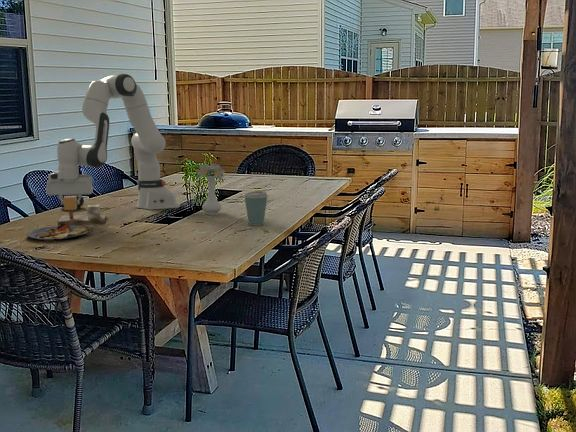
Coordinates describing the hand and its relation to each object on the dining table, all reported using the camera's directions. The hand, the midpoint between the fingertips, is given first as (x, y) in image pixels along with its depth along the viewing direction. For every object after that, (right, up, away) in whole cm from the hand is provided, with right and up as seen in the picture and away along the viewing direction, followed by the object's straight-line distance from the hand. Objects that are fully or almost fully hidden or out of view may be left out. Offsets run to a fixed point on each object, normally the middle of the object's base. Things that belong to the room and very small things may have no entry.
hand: (70, 204), depth 299 cm
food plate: (+5, -14, -29) cm, 32 cm away
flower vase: (+62, -4, +22) cm, 66 cm away
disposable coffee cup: (+86, -9, -4) cm, 86 cm away
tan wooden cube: (0, -2, 0) cm, 2 cm away
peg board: (+5, -8, +2) cm, 9 cm away
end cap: (-10, -2, +34) cm, 35 cm away
